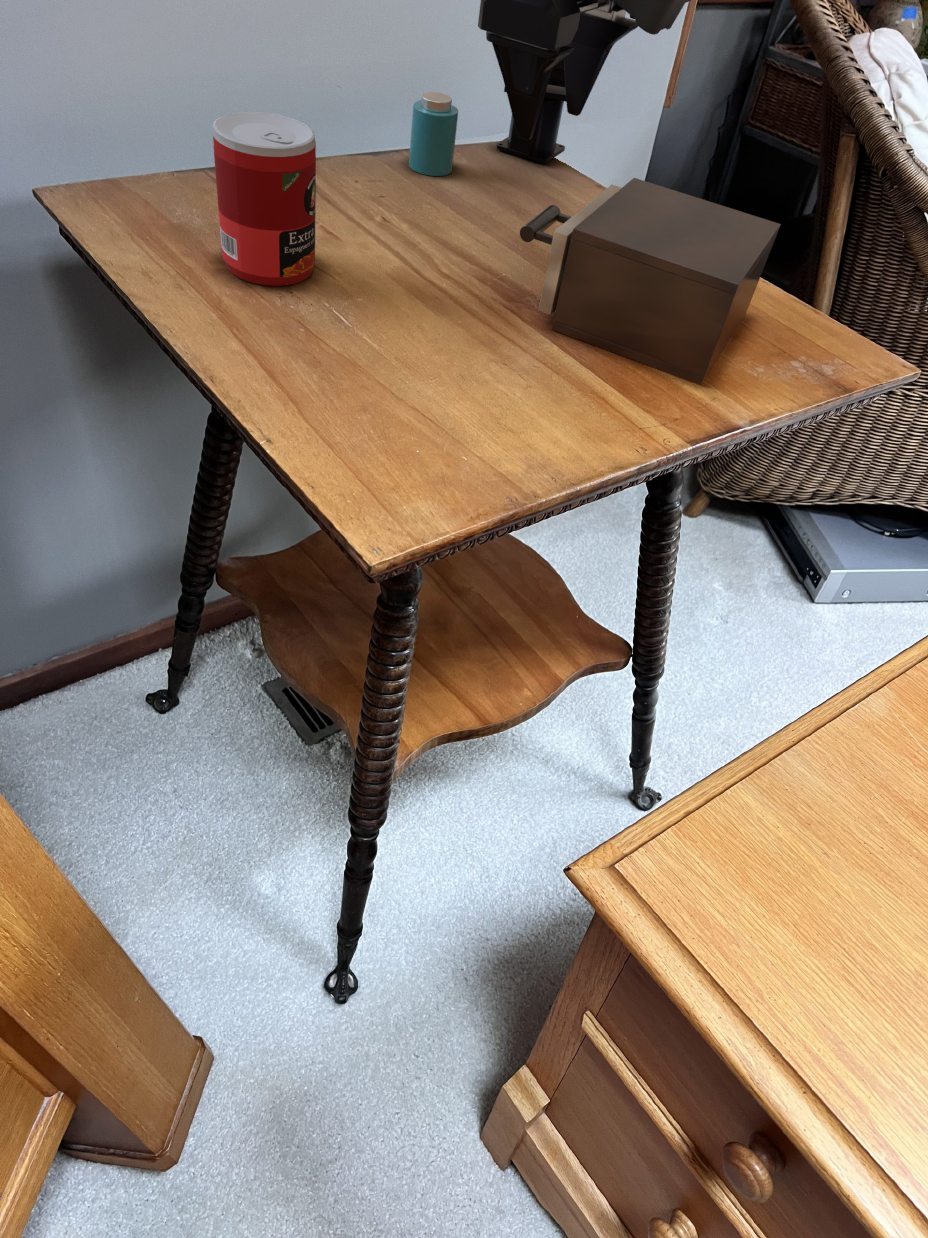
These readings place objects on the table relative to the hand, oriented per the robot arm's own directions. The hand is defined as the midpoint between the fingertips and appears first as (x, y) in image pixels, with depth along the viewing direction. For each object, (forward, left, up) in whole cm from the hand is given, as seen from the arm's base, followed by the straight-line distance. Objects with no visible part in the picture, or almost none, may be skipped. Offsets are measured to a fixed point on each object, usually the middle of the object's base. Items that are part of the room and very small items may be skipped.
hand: (549, 125), depth 71 cm
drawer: (0, +9, -12) cm, 15 cm away
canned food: (+14, -18, -13) cm, 26 cm away
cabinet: (0, +13, -13) cm, 18 cm away
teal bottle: (-17, -19, -13) cm, 28 cm away
